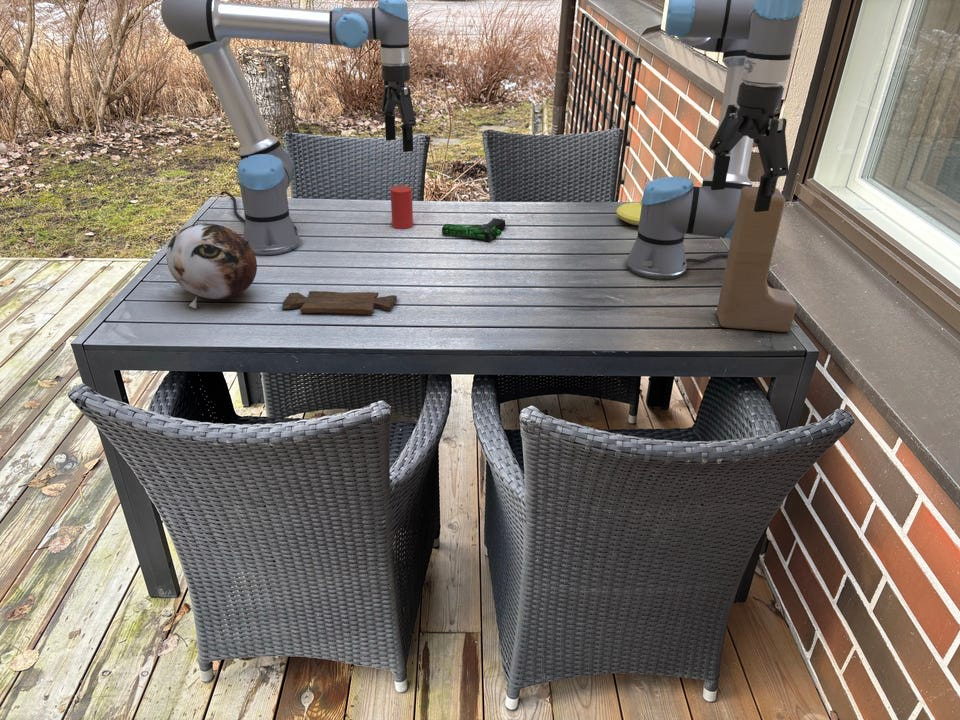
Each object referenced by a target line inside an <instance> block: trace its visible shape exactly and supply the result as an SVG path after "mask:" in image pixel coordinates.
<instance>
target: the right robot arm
mask: <svg viewBox="0 0 960 720" xmlns="http://www.w3.org/2000/svg"><path fill="white" fill-rule="evenodd" d="M803 3H804V0H668V5H667V13H666V21H665V34H666V35H668V36H670V37H676V38H677V39H678V41H680V42H681V43H682V44H684V45H686V46H688V47H690V48H693V49H696V50H698V51H699V50H700V51H704V52H707V53H708V52H710V53H722V59H721V60H722V61H721V62H722V64H723V65H724V66H725V67H726V69H727V71H726V75H725V76H726V77H725V82H724V90H723V95H722V102H721V107H720V113H719V119H718V125H717V131H716V132H715V134H714V136H713V139H712V141H711V142H710V143H709V150H710V151H713V155H712V161H711V162H712V163H711V168H710V173H709V174H708V175H706V176H705V177H704V178H703V179H702V183H701V184H702V185H701V186H695V185H694V181H693V180H692V179H690V178H689V177H683V176H664V177H659V178H655V179H653V180H651V181H649V182H647V184H646V185H645V186H644V189H643V193H642V198H641V199H642V200H641V199H640V202H641V203H642V207H641V214H640V221H639V226H638V227H637V228H638V229H637V236H636V239H635V241H634V243H633V246H632V248H631V250H630V252H629V254H628V255H627V258H626V265H625V266H626V269H628V271H629V272H631V273H632V274H634V275H636V276H638V277H641V278H646V279H651V280H657V281H658V280H659V281H668V280H675V279H679V278H681V277H683V276H684V275H685V274H686V273H687V268H688V267H687V266H688V264H687V263H706V262H708V261H710V260H712V259H715V258H728V253H716V254H712V255H708V257H705V258H687V257H686V251H685V245H684V240H685V235H693V236H703V237H713V238H720V239H731V238H732V233H733V228H734V224H735V219H736V214H737V209H738V204H739V199H740V194H741V189H742V188H743V187H745V186H748V187H753V182H752V181H751V180H750V178H749V176H748V175H749V169H750V164H751V157H752V152H753V146H754V144H756V146H757V150H758V154H759V157H760V161H761V164H762V168H763V172H764V174H762V175H761V176H760V180H759V184H758V187H759V189H758V194H757V198H756V203H755V208H754V211H755V212H762V211H769V207H770V202H771V198H772V195H773V194H774V193H775V188H777V183H778V179H779V178H780V177H788V175H789V174H790V172H789V171H790V170H789V159H788V158H789V157H788V148H787V138H786V136H787V135H786V128H787V122H788V121H787V118H786V117H784V118H783V117H782V118H775V111H776V110H777V109H778V108H780V106H781V104H782V99H783V95H784V94H783V93H784V89H785V87H784V86H783V85H782V84H784V83H786V81H787V77H788V72H789V67H790V62H791V56H792V51H793V46H794V43H795V39H796V34H797V30H798V27H799V26H798V25H799V21H800V20H799V19H800V16H801V13H802V12H803V9H804V7H803Z"/></svg>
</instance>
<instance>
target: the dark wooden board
mask: <svg viewBox="0 0 960 720" xmlns="http://www.w3.org/2000/svg"><path fill="white" fill-rule="evenodd" d="M379 294H380V293H379V292H375V291H357V292H356V291H354V292H353V291H352V292H351V291H349V292H348V291H347V292H342V291H341V292H340V291H325V290H324V291H323V290H322V291H321V290H320V291H318V290H309V291H308V295H307V296H305V295H303V294H301V293H300V292H289V293H288V295H287V296H286V298H285V299H284V300H283V302H282V305H281V306H282V307H281V309H283V310H293V309H294V310H295V309H298V308H300V309H299V310H300V313H302V314H318V313H331V314H334V313H335V314H355V315H369V314H373V313H374V310H375V309H381V310H384V311H391V310H392V309H393V307H394V306H395V304H396V302H397V301H398V296H397V295H395V294H392V295H386V296H379Z"/></svg>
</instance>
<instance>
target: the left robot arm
mask: <svg viewBox="0 0 960 720" xmlns="http://www.w3.org/2000/svg"><path fill="white" fill-rule="evenodd" d="M377 3H378V4H377V7H347V6H343V7H333V8H332V10H327V9H326V10H324V9H315V8H313V9H312V8H300V7H288V6H277V5H276V6H274V5H263V4H250V3H249V4H248V3H238V2H225V1H221V0H162V1H161V4H160V5H161V6H160V13H161V14H160V15H161V20H162V23H163V24H164V26H165V28H166V29H167V31H168V32H170V34H172V35H173V37H176V38H178V39H179V40H182V41H183V43H184V45H185V47H186V48H187V51H188V52H189V53H191V54H193V55H194V56H196V57H197V58H198V59H199V62H200V63H201V65H202V68H203V70H204V72H205V74H206V76H207V78H208V81H209V82H210V84H211V86H212V89H213V91H214V93H215V95H216V97H217V99H218V101H219V103H220V105H221V107H222V109H223V112H224V114H225V115H226V118H227V120H228V122H229V124H230V126H231V128H232V130H233V132H234V134H235V136H236V139H237V141H238V143H239V145H240V148H239V151H238V156H239V158H240V159H241V160H240V161H239V162H238V165H237V179H238V184H239V190H240V196H241V201H242V208H243V212H244V213H243V215H244V218H243V217H242V216H241V215H240V214H239V213H238V209H237V208H238V207H237V199H236V197H235V196H234V195H232V194H231V193H230V192H228V191H225V190H222V191H221V192H220V193H219V195H220V196H223V195H224V194H225V195H227V196H228V197H229V198H231V199H232V198H233V199H232V201H233V202H232V203H233V212H234V215H235V216H236V218H237V219H238V220H240V221H241V222H242V223H244V226H243V228H244V229H243V235H242V237H243V238H244V239H245V240H246V241H249V242H248V244H249V245H250V247H251V248H252V250H253V252H254V254H255V256H256V255H257V256H275V255H281V254H282V255H283V254H285V253H289V252H291V251H293V250H296V249H297V248H298V247H299V246H300V244H301V241H300V235H299V233H298V232H299V231H298V228H297V226H296V225H294V223H293V220H292V218H291V216H290V207H289V200H288V189H289V187H290V184H291V183H292V180H293V178H294V174H295V172H294V170H295V168H294V162H293V160H292V158H291V157H292V156H290V154H289V153H288V152H287V150H285V149H284V147H283V145H282V144H281V141H280V139H279V137H277V136H275V135H274V134H273V135H272V133H270V129H269V128H268V126H267V123H266V121H265V119H264V117H263V115H262V113H261V110H260V108H259V105H258V104H257V102H256V99H255V97H254V95H253V93H252V91H251V88H250V86H249V84H248V82H247V80H246V77H245V75H244V73H243V71H242V69H241V67H240V64H239V62H238V60H237V57H236V56H235V53H234V50H233V49H232V46H231V40H232V39H243V40H258V41H272V42H284V43H286V42H287V43H288V42H289V43H300V44H301V43H302V44H317V45H330V46H342V47H345V48H347V49H353V50H354V49H358V48H360V47H362V46H363V45H364V44H365V43H366V42H367V41H377V40H379V42H380V44H379V45H380V46H379V48H380V63H381V64H382V65H381V79H382V80H383V92H382V99H381V100H382V101H381V109H380V111H381V113H383V116H384V131H385V141H395V140H397V137H396V117H395V116H396V111H395V109H396V106H397V108H398V112H399V115H400V119H401V122H402V124H401V126H400V128H401V134H402V135H401V136H402V139H401V140H402V152H403V153H408V152H414V137H413V136H414V133H413V131H414V130H413V128H414V127H416V126H417V122H416V116H415V110H414V107H413V102H412V101H413V100H412V95H411V94H412V93H411V87H410V86H406V84H405V83H406V82H408V81H410V79H411V66H410V63H411V62H410V61H411V60H410V59H411V57H410V54H411V53H412V51H411V49H410V25H409V24H410V23H409V19H410V18H409V9H408V3H407V1H406V0H378V2H377Z"/></svg>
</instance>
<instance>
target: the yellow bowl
mask: <svg viewBox="0 0 960 720" xmlns="http://www.w3.org/2000/svg"><path fill="white" fill-rule="evenodd" d="M641 200H642V198H640V201H639V202H635V201H634V202H628V203H624V204H621V205H620V206H618V208H616V216H617V217H618V218H619V219H620V220H622V221H624V222H625V223H628V224H630V225H632V226H638V227H639V221H640V214H641V207H642V203H641Z"/></svg>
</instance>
